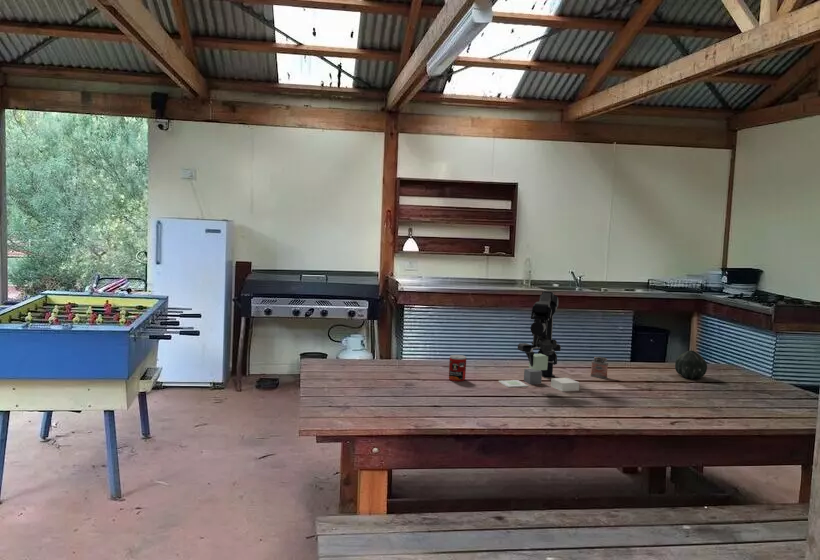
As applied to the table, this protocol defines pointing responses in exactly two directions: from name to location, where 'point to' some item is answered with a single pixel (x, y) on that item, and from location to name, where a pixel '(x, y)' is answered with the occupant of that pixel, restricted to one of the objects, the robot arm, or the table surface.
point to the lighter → (599, 367)
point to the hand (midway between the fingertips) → (538, 366)
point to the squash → (691, 365)
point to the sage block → (539, 362)
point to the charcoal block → (532, 376)
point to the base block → (565, 384)
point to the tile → (513, 383)
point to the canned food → (457, 368)
